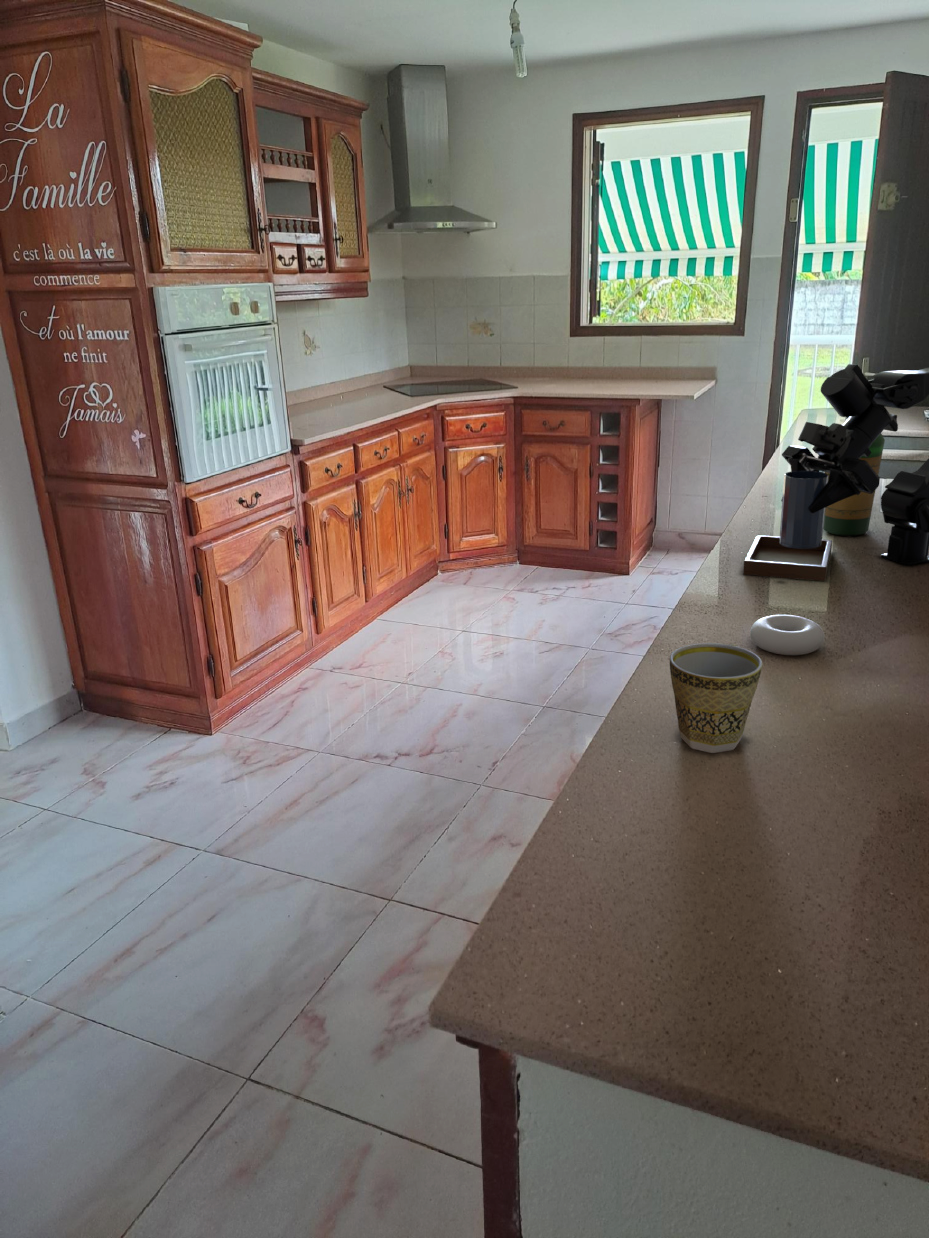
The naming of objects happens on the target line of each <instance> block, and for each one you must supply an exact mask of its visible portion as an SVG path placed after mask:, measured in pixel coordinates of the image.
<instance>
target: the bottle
mask: <svg viewBox="0 0 929 1238" xmlns="http://www.w3.org/2000/svg"><path fill="white" fill-rule="evenodd" d="M849 417H850V416H849ZM849 417H845V422H846V421H847V420H848V418H849ZM885 441H886V439H885V437H884V435H883V433H881V434H880V435H879V436H878V437H877V438H876V440H875V441H874V442H873V443H872V444H871V446H870V447H869V450H870V451H871V452H872V453H871V454H870V455H869V456H868V457H865V456H861V458H860V460H865V461H867V462H868V463H869V465H870V466H871V467H872V468H873V470H874V471H875V472H876V473H877V475H878V476H879V473H880V469H881V464H882V457H883V452H884V447H885ZM824 473H826V474H827V475H828V480H829V474H830V473H827V472H824ZM859 491H860V490H859ZM860 492H861V491H860ZM875 494H876V490H875V491H874V492H873V493H872V494H869V493H865V492H861V493H860V494H859V495H853V496H851V497H848V498H846V499H843V500H841V501H838V502H836V503H834V504H832V505H830V506H828V507H825V515H824V525H823V531H825V532H826V533H828V534H829V535H830V534H831V535H834V536H839V537H840V536H841V537H857V536H862V535H864V534H866V533H867V532H868V531H869V527H870V523H871V517H872V511H873V507H874V506H873V505H874V500H875V496H876V495H875Z"/></svg>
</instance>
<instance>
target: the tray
mask: <svg viewBox="0 0 929 1238" xmlns="http://www.w3.org/2000/svg"><path fill="white" fill-rule="evenodd" d="M779 537H780V536H775V535H761V534H760V535H759V534H757V535H756V536H755V539H754V541H753V542H752V545H751V546H750V549H749V550H748V552H747V554H746V556H745V558H744V560H743V569H742V570H743V571H742V574H743V575H746V576H756V577H757V576H759V577H768V578H769V577H771V578H780V579H784V578H785V579H793V580H794V579H795V580H805V581H817V582H819V581H820V582H826V579H827V574H828V568H829V564H830V559H831V554H832V546H833V539H822V543H821V546H819V547H816V548H811V549H796V548H789V547H785V546H783V545H781V544H780V539H779Z"/></svg>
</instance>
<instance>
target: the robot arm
mask: <svg viewBox="0 0 929 1238" xmlns="http://www.w3.org/2000/svg"><path fill="white" fill-rule="evenodd" d="M820 393H821V394H822V396H823V397H824V399H826V400H827V402H828V403H829V404H830V405H831V407H832V408H833V409H834V411H835V412H836V413H837V414H838V416H839V417H842V418H846V417H849V416H850V417H849V418H848V420H847V421H846V420H845V422H844V423H842V424H841V423H836V422H832V423H831V424H830V425H829V426H828V425H823V424H820V423H815V422H809V421H805V423H804V425H803V427H802V429H801V432H800V434H799V436H798V438H797V440H798V441H800V442H803V443H807V444H809V445H811V446H813V447H812V448H811V449H812V451H811V450H810V449H809V448H808V447H805V446H801V445H797V444H791V445H788V446H787V447H786V448H785V449H784V450H783V452H782V453H781V456H782V458H783V459H784V460H785V461H786V462H787V464H789V466H790V472H791V471H818V472H823V473H825V472H827V473H830V474H829V480H828V482H827V484H826V485H825V486H824V488H823V489H822V490H821V492H820V493H819V494H818V496H817V497H816V498H815V500H814V501H813V503H812V504H811V506H810V508H809V511H810V512H811V513H815V512H817V511H819V510H821V509H823V508H825V507H828V506H830V505H832V504H834V503H836V502H838V501H841V500H843V499H846V498H848V497H851V496H853V495H859V494H860V493H861V492H865V493H869V494H872V493H873V492H874V491H875V492H876V490H877V489H878V487H880V481H881V477H880V476H879V474H878V475H877V473H876V472H875V471H874V470H873V468H872V467H871V466H870V465H869V463H868V462H867V461H865V460H860V458H861V456H865V457H868V456H869V455H870V454H871V453H872V452H871V451H870V450H869V447H870V446H871V444H872V443H873V442H874V441H875V440H876V438H877V437H878V436H879V435H880V434H882V433H883V431H890V432H894V433H895V432H897V431H898V430H899V424H898V414H893V413H890V412H889V411H888V409H887V408H891V409H892V408H893V409H900V410H907V409H910V408H913V407H914V406H916V405H918V404H920V403H922V402H924V401H925V400H926V399H927V398H928V397H929V367H925V368H922V369H921V368H920V369H919V370H885V371H880V372H879V373H878V372H877V374H875V375H874V377H873V379H868V378H867V377H866V376H865V374H864V373H863V369H862V368H861V367H860V366H859V364H853V363H848V364H847V365H846V367H844V368H842V369H840V370H838V371H836V372H834V373H833V374H831V375H830V376H828V377H827V378H825V379H824V380H823V382H822V384H821V386H820ZM813 452H814V453H815V454H817V455H818V456H817V457H816V456H815V455H814V454H813ZM884 488H885V490H884V491H883V493H881V496H880V509H881V512H882V517H883V522H884V523H886V524H889V525H892V526H891V529H890V534H889V537H888V544H887V550H886V551H887V552H885V553H881V554H880V557H881V558H884V559H886V560H890V561H893V562H895V563H898V564H901V565H905V566H913V565H918V564H924V563H929V457H928V458H927V459H926V460H925V461H924V462H923V464H922V465H921V466H920V467H919V468H918V469H916V470H915V471H913V472H909V471H905V470H901V471H899V472H898V473H897V474H896V475H895V477H894V478H893V479H892V480H891V481H890V482H889V483H888V484H887V485H885V486H884ZM859 490H860V491H861V492H860V491H859ZM782 498H783V496H782V497H781V500H780V501H781V502H782Z"/></svg>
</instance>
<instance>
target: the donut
mask: <svg viewBox="0 0 929 1238" xmlns="http://www.w3.org/2000/svg"><path fill="white" fill-rule="evenodd" d="M749 634H750V637H751V640H752V642H753V643H754V644H755V645H756V646H757V647H758V648H759V649H762V650H763V651H766V652H769V653H772V654H776V655H782V656H801V655H802V656H803V655H808V654H811V653H814V652H815V651H817V650H819V648H821V647H822V645H823V643H824V640H825V632H824V631H823V629H822V627H821V626H820V625H819V624H818V623H817V622H815V621H813V620H811V619H809V618H806V617H803V616H798V615H793V614H773V615H767V616H763V617H761V618H759V619H757V620H756V621H755V622H754V623H753V624H752V626H751V628H750V631H749Z"/></svg>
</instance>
